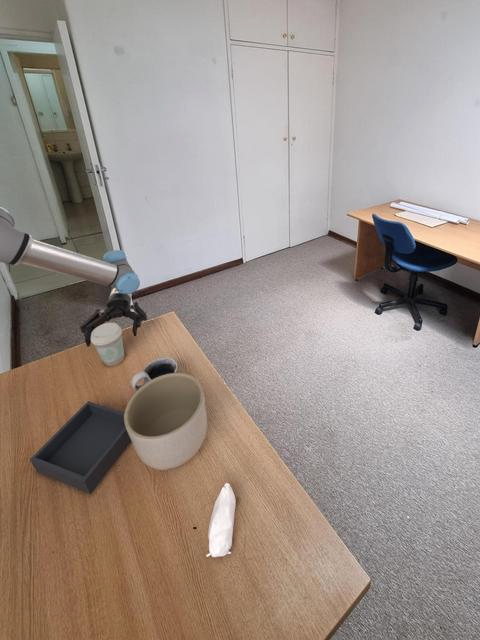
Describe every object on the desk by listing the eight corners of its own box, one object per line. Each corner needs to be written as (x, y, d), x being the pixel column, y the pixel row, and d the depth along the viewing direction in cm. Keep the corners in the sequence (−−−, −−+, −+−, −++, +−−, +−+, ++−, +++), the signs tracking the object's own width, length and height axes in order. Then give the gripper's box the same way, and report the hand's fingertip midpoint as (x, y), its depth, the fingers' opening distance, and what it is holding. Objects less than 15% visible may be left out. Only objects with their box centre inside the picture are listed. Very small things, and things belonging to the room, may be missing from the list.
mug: (188, 381, 98) (182, 356, 93) (153, 415, 88) (145, 389, 83) (165, 369, 102) (159, 345, 98) (130, 400, 92) (121, 375, 88)
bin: (36, 472, 75) (29, 459, 73) (93, 412, 88) (88, 400, 86) (90, 494, 71) (84, 481, 69) (140, 428, 84) (136, 416, 82)
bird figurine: (211, 509, 70) (204, 563, 60) (214, 482, 68) (208, 533, 59) (234, 508, 70) (231, 562, 61) (238, 482, 69) (235, 533, 60)
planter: (225, 435, 83) (218, 393, 76) (167, 498, 70) (153, 455, 64) (182, 401, 92) (173, 362, 85) (124, 452, 79) (108, 411, 72)
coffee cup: (93, 366, 103) (82, 337, 98) (113, 347, 110) (103, 319, 105) (116, 371, 101) (106, 342, 96) (134, 351, 108) (126, 323, 103)
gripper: (157, 302, 129) (154, 337, 111) (85, 315, 121) (70, 356, 103) (153, 286, 125) (150, 320, 107) (79, 299, 118) (62, 338, 100)
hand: (111, 338), depth 105 cm, fingers open, 13 cm apart
